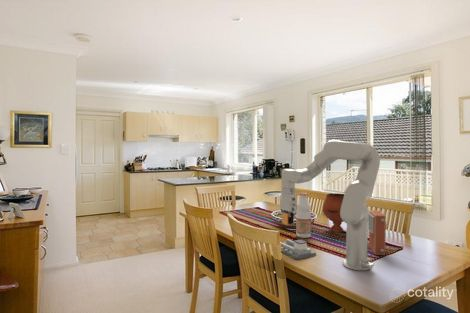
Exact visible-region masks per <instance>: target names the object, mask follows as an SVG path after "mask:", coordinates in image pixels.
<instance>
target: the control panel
mask: <svg viewBox="0 0 470 313" xmlns="http://www.w3.org/2000/svg"><path fill="white" fill-rule="evenodd" d="M386 229H387V220H386V215H385V214H384V213H383V212H381V211H380V210H376V209H375V210H371V209H369V220H368V233H369V234H368V235H369V237H368V239H369V240H368V247H369V249H370V250H371V252H372V253H373V255H379V256H381V255H382V256H385V255H386Z"/></svg>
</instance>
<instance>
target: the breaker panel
mask: <svg viewBox="0 0 470 313" xmlns="http://www.w3.org/2000/svg"><path fill="white" fill-rule="evenodd" d="M294 241H295V240H292V239H289V238H287V239H286V240H285V241H284V242H281V241H280V244H281V250H282V252H281V253H283V254H285V255H287V256H289V257H290V258H293V259H295V260H301V259H306V258H310V257H314V256H317V252H315V251H313V250H312V248H310V247H308V246H307V249H305V250H301V251H299V250H297V249H295V248H294Z"/></svg>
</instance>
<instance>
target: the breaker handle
mask: <svg viewBox="0 0 470 313" xmlns="http://www.w3.org/2000/svg"><path fill="white" fill-rule="evenodd" d="M293 241H294V248H295V249H297V250H299V251H301V250H305V249H307V247H308V242H307V241H306V240H304V239H302V238H301V239H297V240H293Z"/></svg>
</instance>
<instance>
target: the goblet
mask: <svg viewBox="0 0 470 313" xmlns="http://www.w3.org/2000/svg"><path fill="white" fill-rule="evenodd" d="M344 194H345V193H337V192H336V193H327V194H326V197H325V199H324V201H323V204H322V213H323V214H324V216H325V217H326V218H327V219H328V220H329V221H331V222H332V226H331V227H330V228H329V230H330V231H331V232H335V233H342V232H343V231H344V228H343V227H342V223H343V222H344V221H343V220H342V218H341V216H340V210H341V206H342V202H343V198H344ZM344 223H345V222H344Z"/></svg>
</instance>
